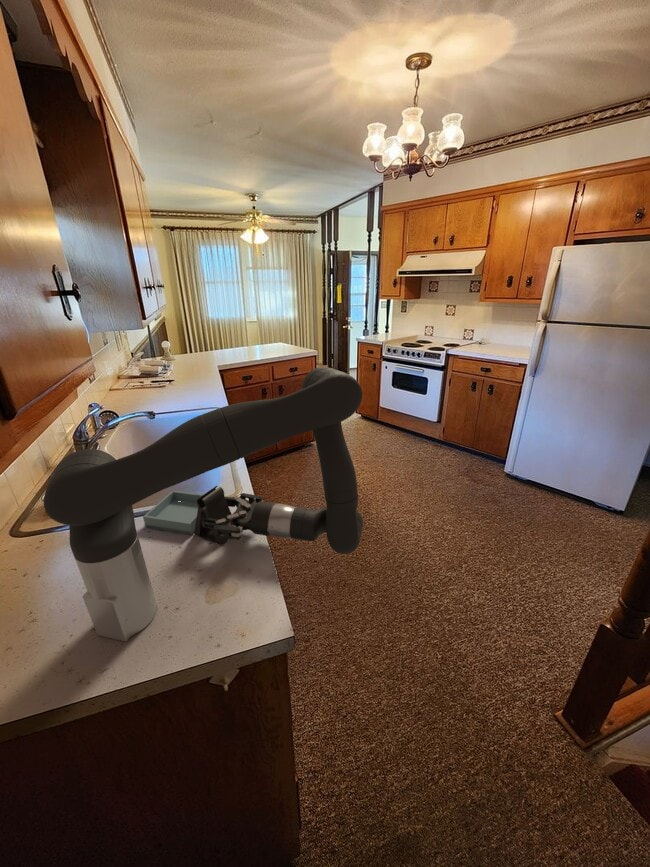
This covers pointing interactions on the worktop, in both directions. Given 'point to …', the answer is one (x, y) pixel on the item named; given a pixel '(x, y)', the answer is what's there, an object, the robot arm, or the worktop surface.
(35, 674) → the worktop surface
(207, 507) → the phone stand
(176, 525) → the slate tray
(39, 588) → the worktop surface
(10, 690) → the worktop surface
